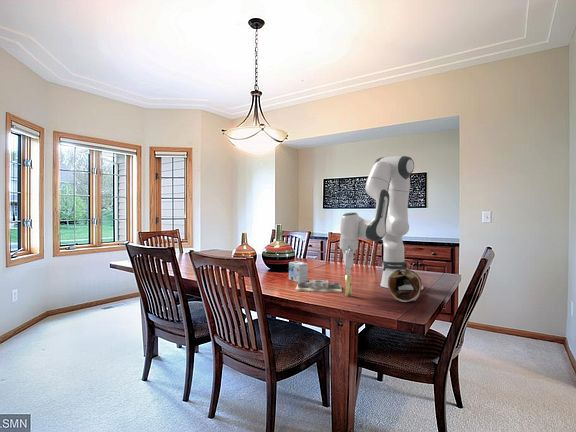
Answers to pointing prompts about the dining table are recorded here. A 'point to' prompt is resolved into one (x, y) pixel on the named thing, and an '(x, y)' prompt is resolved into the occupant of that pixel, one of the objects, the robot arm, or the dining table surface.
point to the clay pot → (401, 279)
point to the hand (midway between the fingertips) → (347, 273)
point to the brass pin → (348, 285)
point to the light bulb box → (298, 271)
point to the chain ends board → (318, 286)
